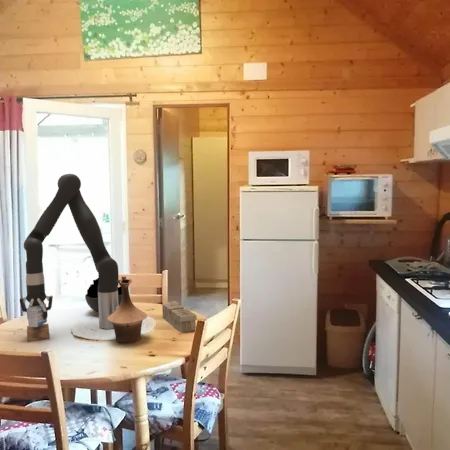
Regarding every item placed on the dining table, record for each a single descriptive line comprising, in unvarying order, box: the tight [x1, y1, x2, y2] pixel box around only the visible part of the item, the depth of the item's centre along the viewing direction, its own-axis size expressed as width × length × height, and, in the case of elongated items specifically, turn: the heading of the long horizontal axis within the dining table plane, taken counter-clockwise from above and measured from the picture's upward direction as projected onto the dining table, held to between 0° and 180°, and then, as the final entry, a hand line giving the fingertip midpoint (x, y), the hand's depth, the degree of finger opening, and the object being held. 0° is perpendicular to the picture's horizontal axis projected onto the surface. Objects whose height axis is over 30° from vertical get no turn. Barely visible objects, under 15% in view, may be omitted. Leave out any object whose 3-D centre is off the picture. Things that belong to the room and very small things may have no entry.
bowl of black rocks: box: [84, 277, 122, 314], centre depth 256 cm, size 20×20×19 cm
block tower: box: [161, 300, 197, 333], centre depth 235 cm, size 8×8×29 cm
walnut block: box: [26, 323, 50, 343], centre depth 218 cm, size 9×9×5 cm
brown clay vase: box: [107, 275, 148, 345], centre depth 212 cm, size 18×17×28 cm
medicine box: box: [27, 303, 48, 327], centre depth 217 cm, size 8×4×9 cm, turn 169°
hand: (37, 319), depth 217 cm, fingers closed on medicine box, 5 cm apart
